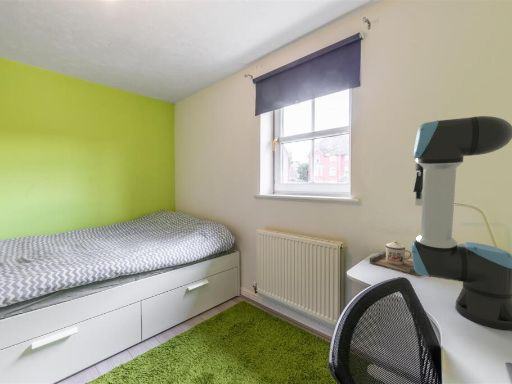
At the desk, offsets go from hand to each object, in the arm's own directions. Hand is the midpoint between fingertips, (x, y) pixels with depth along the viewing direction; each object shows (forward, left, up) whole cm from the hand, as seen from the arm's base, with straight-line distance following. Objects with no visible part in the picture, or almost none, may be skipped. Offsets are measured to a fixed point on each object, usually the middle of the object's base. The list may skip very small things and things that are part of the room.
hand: (423, 204), depth 119 cm
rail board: (-5, +10, -33) cm, 35 cm away
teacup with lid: (-4, +10, -32) cm, 34 cm away
